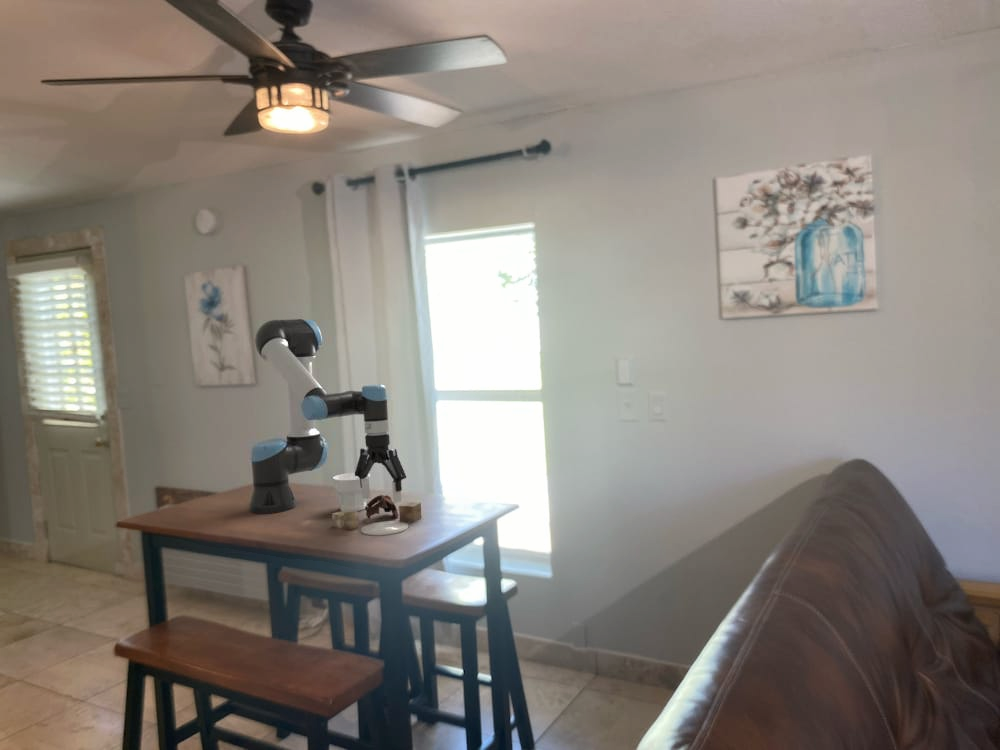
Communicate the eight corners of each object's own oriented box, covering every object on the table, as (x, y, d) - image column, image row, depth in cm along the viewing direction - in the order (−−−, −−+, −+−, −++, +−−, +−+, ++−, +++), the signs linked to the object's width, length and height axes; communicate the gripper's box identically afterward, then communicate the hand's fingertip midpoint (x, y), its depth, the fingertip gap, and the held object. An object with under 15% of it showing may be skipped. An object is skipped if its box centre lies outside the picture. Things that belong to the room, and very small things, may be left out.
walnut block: (399, 521, 226) (398, 505, 225) (407, 517, 230) (406, 501, 230) (414, 522, 224) (413, 506, 224) (421, 518, 229) (420, 502, 228)
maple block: (333, 526, 224) (332, 513, 224) (349, 522, 228) (348, 509, 228) (340, 528, 221) (339, 515, 221) (356, 524, 226) (356, 511, 225)
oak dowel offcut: (342, 529, 220) (341, 512, 220) (351, 525, 223) (350, 509, 223) (351, 530, 218) (350, 514, 217) (361, 527, 221) (360, 511, 221)
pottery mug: (398, 522, 227) (383, 502, 224) (373, 535, 228) (358, 515, 226) (404, 503, 238) (390, 484, 236) (380, 516, 240) (366, 496, 238)
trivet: (351, 531, 216) (351, 530, 216) (384, 520, 228) (384, 519, 228) (385, 537, 208) (385, 536, 208) (418, 525, 220) (418, 524, 220)
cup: (346, 515, 237) (344, 481, 236) (327, 509, 246) (325, 476, 245) (379, 507, 245) (377, 475, 244) (360, 502, 254) (358, 471, 253)
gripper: (340, 434, 235) (345, 499, 236) (397, 436, 220) (402, 505, 221) (357, 431, 241) (362, 494, 242) (414, 433, 227) (418, 500, 228)
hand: (381, 500), depth 232 cm, fingers open, 13 cm apart
